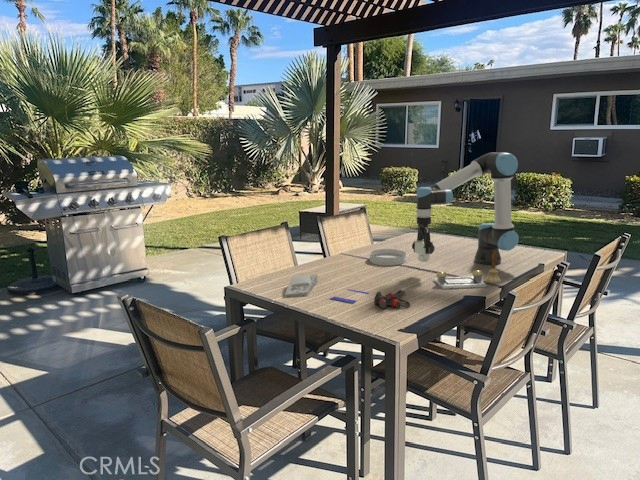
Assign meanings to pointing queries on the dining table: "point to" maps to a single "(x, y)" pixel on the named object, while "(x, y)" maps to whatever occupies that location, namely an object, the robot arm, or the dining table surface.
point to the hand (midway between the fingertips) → (423, 256)
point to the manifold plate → (460, 280)
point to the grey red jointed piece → (390, 300)
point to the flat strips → (348, 299)
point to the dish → (387, 257)
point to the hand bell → (493, 271)
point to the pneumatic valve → (421, 249)
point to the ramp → (301, 285)
